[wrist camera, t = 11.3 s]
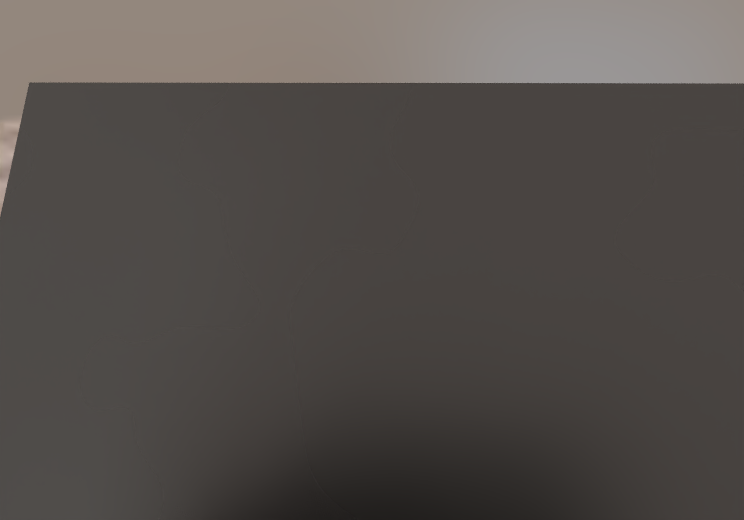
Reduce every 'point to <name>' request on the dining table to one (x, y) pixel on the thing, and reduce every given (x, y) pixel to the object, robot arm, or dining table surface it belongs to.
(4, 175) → the dining table surface
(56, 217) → the lock block
